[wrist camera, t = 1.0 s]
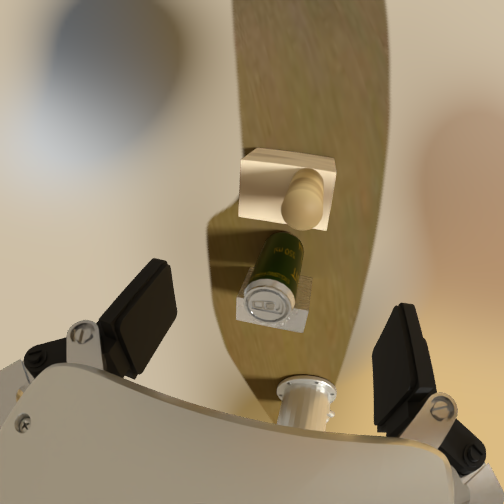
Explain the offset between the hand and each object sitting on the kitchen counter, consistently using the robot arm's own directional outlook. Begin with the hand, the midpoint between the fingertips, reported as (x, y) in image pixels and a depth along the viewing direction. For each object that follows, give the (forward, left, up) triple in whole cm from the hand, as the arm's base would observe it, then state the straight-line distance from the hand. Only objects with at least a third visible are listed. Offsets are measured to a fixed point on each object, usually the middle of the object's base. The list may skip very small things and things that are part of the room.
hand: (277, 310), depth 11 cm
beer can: (-6, +10, -25) cm, 27 cm away
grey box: (-10, +15, -25) cm, 30 cm away
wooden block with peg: (+1, +2, -25) cm, 25 cm away
